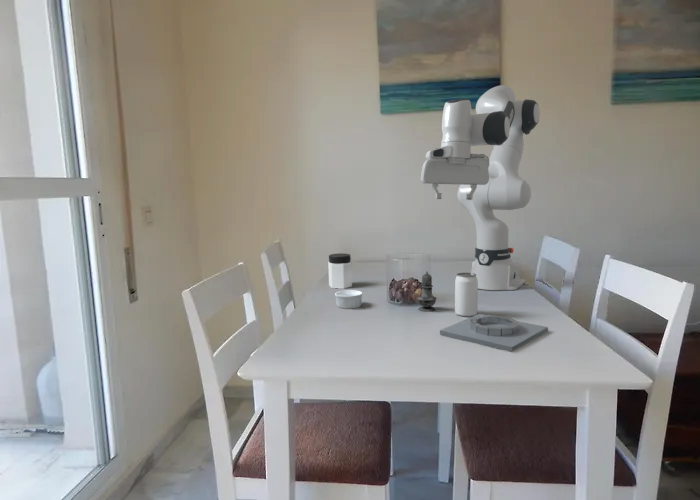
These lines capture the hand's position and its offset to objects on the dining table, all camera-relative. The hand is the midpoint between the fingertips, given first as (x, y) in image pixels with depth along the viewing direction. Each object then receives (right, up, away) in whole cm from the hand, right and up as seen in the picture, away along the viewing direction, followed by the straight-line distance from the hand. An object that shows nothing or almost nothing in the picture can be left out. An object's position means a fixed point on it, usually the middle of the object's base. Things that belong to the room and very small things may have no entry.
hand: (453, 199), depth 154 cm
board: (+6, -37, -21) cm, 43 cm away
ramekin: (-32, -34, +10) cm, 47 cm away
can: (+3, -35, -3) cm, 35 cm away
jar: (-35, -29, +38) cm, 59 cm away
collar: (+6, -36, -22) cm, 42 cm away
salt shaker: (-8, -34, +3) cm, 35 cm away
